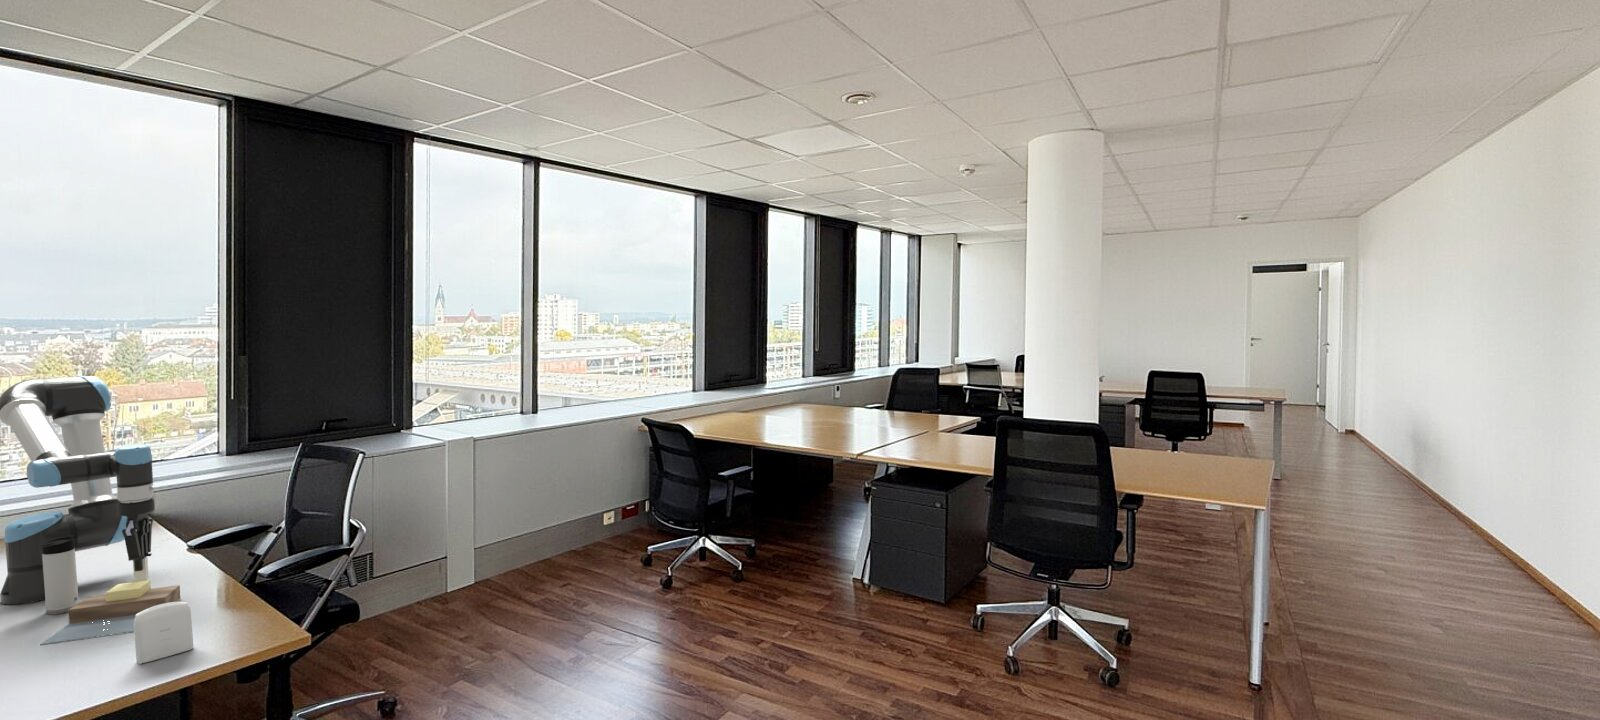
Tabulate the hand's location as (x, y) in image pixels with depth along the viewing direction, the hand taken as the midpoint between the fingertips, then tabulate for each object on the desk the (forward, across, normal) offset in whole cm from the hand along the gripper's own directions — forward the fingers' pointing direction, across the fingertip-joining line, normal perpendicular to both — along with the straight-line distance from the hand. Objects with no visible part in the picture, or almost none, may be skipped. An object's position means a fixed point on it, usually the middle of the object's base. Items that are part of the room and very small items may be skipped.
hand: (141, 580), depth 204 cm
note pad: (+2, -8, 0) cm, 8 cm away
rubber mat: (+6, -21, 0) cm, 22 cm away
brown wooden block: (+6, -9, 0) cm, 11 cm away
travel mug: (+6, 0, +17) cm, 18 cm away
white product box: (+6, -47, -21) cm, 52 cm away
